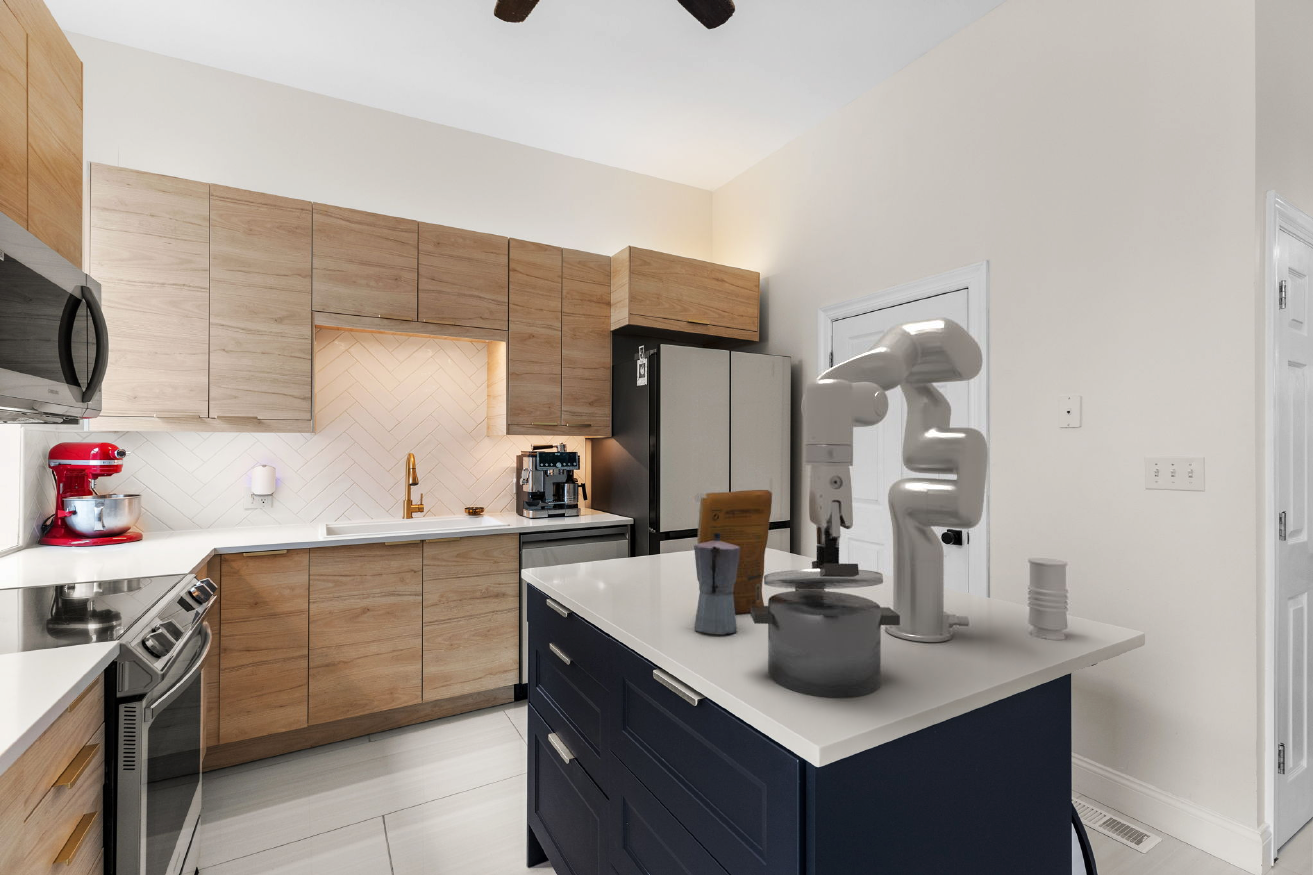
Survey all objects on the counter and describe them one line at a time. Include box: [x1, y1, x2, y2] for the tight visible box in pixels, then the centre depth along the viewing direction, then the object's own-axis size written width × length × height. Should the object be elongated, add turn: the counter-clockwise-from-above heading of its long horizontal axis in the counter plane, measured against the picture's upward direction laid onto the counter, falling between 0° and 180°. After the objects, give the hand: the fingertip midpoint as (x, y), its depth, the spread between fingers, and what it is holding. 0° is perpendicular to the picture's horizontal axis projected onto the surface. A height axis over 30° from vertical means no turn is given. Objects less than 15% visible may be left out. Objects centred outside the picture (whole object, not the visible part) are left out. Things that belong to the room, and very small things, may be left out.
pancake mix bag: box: [696, 489, 773, 615], centre depth 141 cm, size 7×19×28 cm, turn 107°
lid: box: [763, 560, 884, 590], centre depth 102 cm, size 22×19×4 cm
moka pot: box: [693, 533, 740, 635], centre depth 127 cm, size 10×15×20 cm, turn 174°
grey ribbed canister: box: [1027, 557, 1069, 641], centre depth 125 cm, size 7×7×15 cm
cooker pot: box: [750, 589, 900, 699], centre depth 103 cm, size 23×20×12 cm
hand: (827, 570), depth 99 cm, fingers closed
